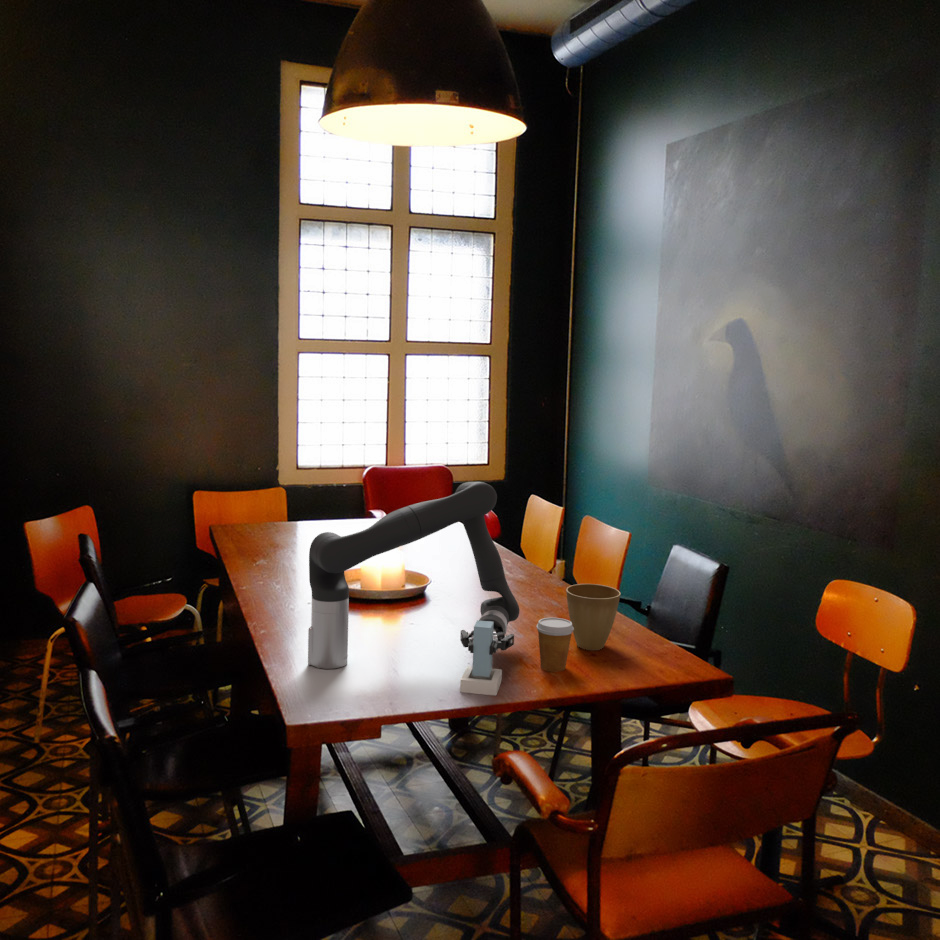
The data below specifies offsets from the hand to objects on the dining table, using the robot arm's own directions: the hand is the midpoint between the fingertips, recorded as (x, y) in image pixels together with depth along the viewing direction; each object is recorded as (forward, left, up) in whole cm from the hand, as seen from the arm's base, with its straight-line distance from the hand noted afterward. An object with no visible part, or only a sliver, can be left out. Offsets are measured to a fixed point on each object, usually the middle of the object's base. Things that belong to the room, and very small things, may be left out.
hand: (481, 649), depth 206 cm
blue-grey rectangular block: (0, +3, -7) cm, 7 cm away
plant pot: (+25, +41, -10) cm, 49 cm away
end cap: (0, +3, -10) cm, 10 cm away
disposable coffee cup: (+16, +21, -10) cm, 28 cm away
